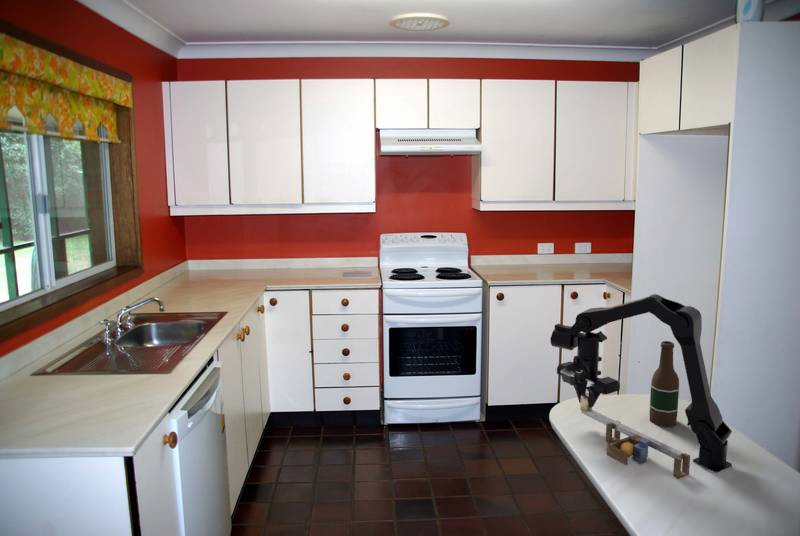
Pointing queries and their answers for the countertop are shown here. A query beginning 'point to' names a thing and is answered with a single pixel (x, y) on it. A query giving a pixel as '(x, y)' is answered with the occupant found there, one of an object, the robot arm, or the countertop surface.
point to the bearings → (677, 461)
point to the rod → (629, 434)
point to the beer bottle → (664, 389)
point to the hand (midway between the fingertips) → (586, 405)
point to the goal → (618, 454)
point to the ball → (627, 448)
